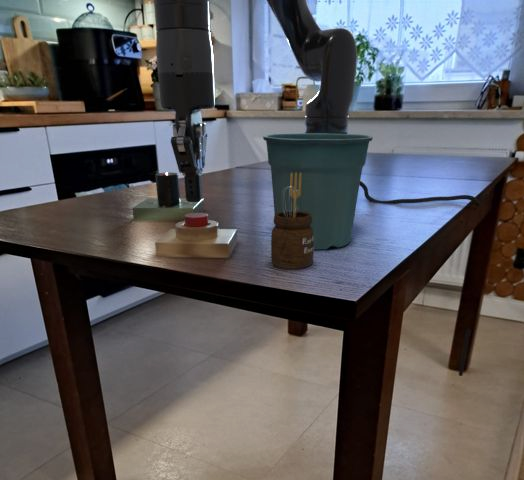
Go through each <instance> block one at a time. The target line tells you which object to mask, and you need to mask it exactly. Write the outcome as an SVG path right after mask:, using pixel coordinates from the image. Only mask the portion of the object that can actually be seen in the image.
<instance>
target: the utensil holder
mask: <svg viewBox="0 0 524 480" xmlns="http://www.w3.org/2000/svg"><path fill="white" fill-rule="evenodd" d="M301 176H302V174H301V173H299V189H298V190H297V173H295V183H294V187H293V186H292V180H293V173H291V174H290V186H287V187H288V188H289V187H290V189H289V192H290V196H291V197H293V198H294V206H293V211H290V210H289V211H283V212H279V213H276V214H273V215H274V216H273V224H274V226H273V228H272V230H271V233H270V234H271V235H270V256H271V258H270V259H271V263H272V265H273V266H274V267H275V268H278V269H281V270H288V271H292V270H294V271H295V270H304V269H307V268H309V267H310V266H311V265H312V264H313V261H314V250H315V249H314V233H313V229H312V227H311V226H310V225H311V223H312V217H311V214H310V213H307V212H302V211H296V208H297V206H296V199H297V198H298V197H299V196H300V195H301ZM287 187H286V188H287ZM292 187H293V188H294V190H292V189H293V188H292ZM284 189H285V188H284ZM285 191H286V189H285ZM282 192H283V191H282ZM284 193H285V192H284ZM283 200H284V195H283ZM291 203H292V200H291ZM281 204H282V196H281ZM285 207H286V205H285ZM282 209H284V204H283V208H282ZM298 209H299V207H298ZM275 225H276V226H275Z"/></svg>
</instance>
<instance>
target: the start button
mask: <svg viewBox="0 0 524 480" xmlns="http://www.w3.org/2000/svg"><path fill="white" fill-rule="evenodd" d="M184 218H185V226H186V227H204V226H208V225H209V222H208V220H209V214H208V213H206V212H203V213H189V214H186V215H184Z"/></svg>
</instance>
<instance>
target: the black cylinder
mask: <svg viewBox="0 0 524 480" xmlns="http://www.w3.org/2000/svg"><path fill="white" fill-rule="evenodd" d="M154 176H155V177H154V178H155V185H156V186H155V188H156V196H157V198H158V204H162V205H172V204H178V203H180V199H181V194H180V182H179V173H178V172H167V171H166V172H158V173H155V175H154Z"/></svg>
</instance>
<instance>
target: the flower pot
mask: <svg viewBox="0 0 524 480" xmlns="http://www.w3.org/2000/svg"><path fill="white" fill-rule="evenodd" d="M262 138H263V140H264V141H265V143H266V150H267V151H266V152H267V162H268V163H267V164H268V165H269V166H270V173H271V186H272V199H273V211H274V214H273V215H275V214H276V213H279V212H283V211H289V210H290V211H293V206H294V198H293V197H291V196H290V192H289V189H290V187H289V188H288V187H287V186H290V174H291V173H293V180H292V186H293V187H294V183H295V173H297V190H298V189H299V173H301V174H302V176H301V195H300V196H299V197H298V198H297V199H296V206H297V208H296V211H302V212H307V213H310V214H311V217H312V223H311V225H310V226H311V227H312V229H313V233H314V249H313V250H328V249H329V248H331V247H334V248H341V247H344V246H346V245H349V243H351V240H352V235H353V234H352V233H353V228H354V220H355V215H356V209H357V203H358V198H359V197H358V196H359V190H360V181H361V177H362V172H363V168H364V166H365V165H366V160H367V156H368V155H367V154H368V149H369V144H370V142H372V141H373V138H374V136H372V135H367V134H353V133H347V134H329V133H305V132H303V133H302V132H300V133H299V132H298V133H296V132H295V133H271V134H263V136H262ZM286 187H287V188H286ZM293 187H292V188H293ZM284 188H285V189H286V191H285V189H284ZM292 190H294V188H293V189H292ZM282 191H283V192H282ZM284 192H285V193H284ZM283 195H284V200H283ZM281 196H282V204H281ZM291 200H292V203H291ZM283 204H284V209H282V208H283ZM285 205H286V207H285ZM298 207H299V209H298ZM275 226H276V225H275V224H274V227H275Z"/></svg>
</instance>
